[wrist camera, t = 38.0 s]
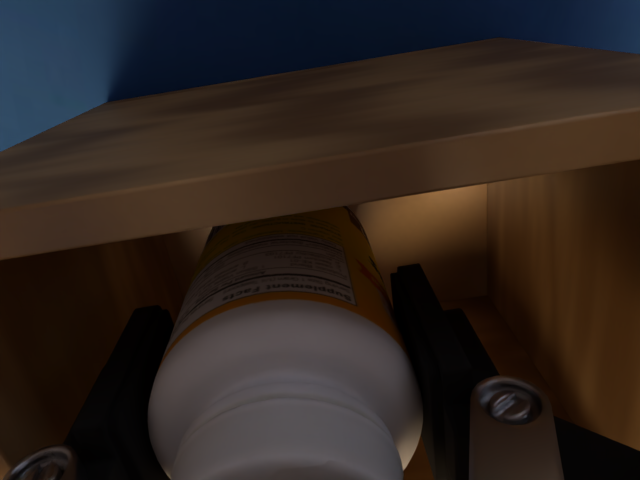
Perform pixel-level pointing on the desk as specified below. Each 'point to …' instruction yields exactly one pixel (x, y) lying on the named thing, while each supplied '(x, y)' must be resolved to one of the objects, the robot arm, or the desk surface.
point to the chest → (361, 197)
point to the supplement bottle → (286, 360)
